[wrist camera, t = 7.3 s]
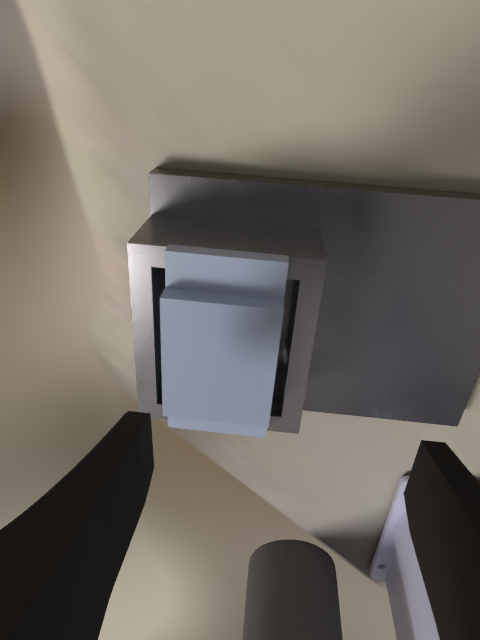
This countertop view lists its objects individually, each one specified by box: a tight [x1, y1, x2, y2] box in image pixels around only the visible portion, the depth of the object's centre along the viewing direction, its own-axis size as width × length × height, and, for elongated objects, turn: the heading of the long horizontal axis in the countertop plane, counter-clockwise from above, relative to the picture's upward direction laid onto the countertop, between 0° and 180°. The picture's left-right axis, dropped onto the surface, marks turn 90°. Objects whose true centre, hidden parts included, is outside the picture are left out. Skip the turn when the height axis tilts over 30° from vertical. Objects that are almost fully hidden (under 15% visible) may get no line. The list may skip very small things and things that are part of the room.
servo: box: [160, 244, 289, 438], centre depth 18 cm, size 8×4×5 cm, turn 176°
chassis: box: [127, 168, 480, 434], centre depth 19 cm, size 11×15×4 cm
